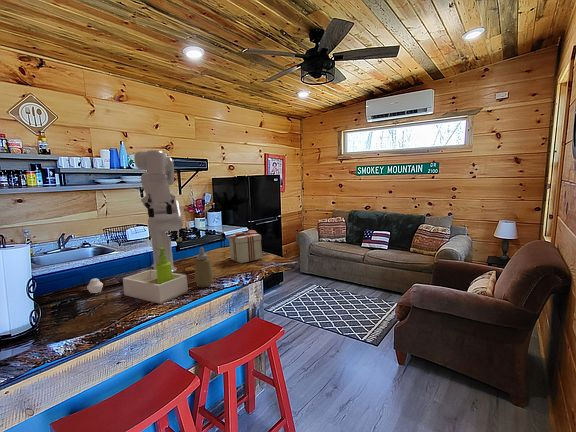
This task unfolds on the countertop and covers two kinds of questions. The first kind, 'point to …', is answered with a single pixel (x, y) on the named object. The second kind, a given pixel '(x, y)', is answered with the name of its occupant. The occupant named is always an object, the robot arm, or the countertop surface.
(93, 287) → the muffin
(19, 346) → the countertop surface
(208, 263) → the squeeze bottle
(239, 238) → the gift box
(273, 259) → the countertop surface
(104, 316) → the countertop surface
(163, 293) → the caddy
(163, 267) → the soap dispenser
